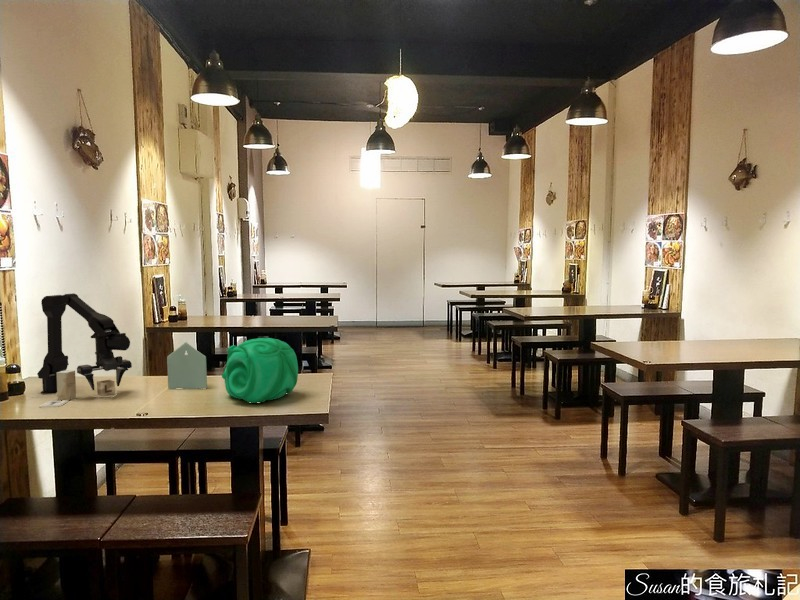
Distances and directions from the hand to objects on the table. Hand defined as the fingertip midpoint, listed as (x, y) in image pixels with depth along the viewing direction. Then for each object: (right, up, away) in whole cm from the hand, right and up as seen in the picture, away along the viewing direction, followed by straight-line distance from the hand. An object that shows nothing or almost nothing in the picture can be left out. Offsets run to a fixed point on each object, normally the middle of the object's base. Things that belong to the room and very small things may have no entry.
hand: (105, 388), depth 226 cm
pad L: (0, -3, 0) cm, 3 cm away
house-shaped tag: (+29, -2, +14) cm, 32 cm away
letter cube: (0, -2, 0) cm, 2 cm away
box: (-13, -4, -5) cm, 14 cm away
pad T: (-13, -4, -13) cm, 19 cm away
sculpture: (+62, -3, -4) cm, 62 cm away
